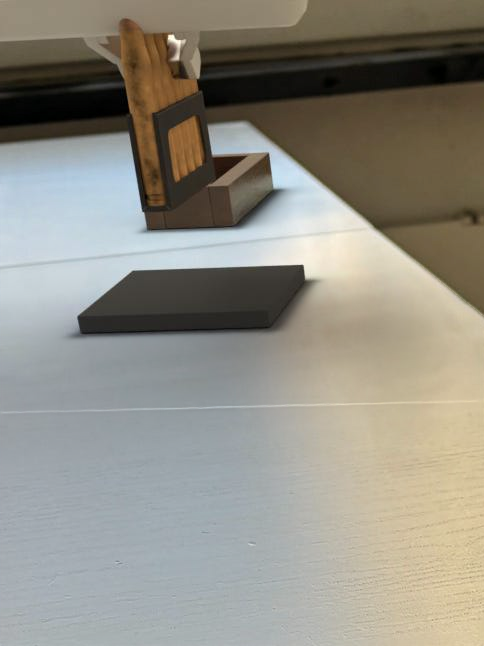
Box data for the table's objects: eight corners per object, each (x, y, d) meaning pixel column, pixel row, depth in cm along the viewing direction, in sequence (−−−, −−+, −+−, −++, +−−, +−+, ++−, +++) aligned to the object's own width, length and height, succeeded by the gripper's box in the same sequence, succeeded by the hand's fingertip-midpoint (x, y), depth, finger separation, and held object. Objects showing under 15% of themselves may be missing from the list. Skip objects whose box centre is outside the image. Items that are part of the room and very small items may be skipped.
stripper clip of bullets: (188, 179, 88) (153, -40, 81) (216, 178, 88) (183, -42, 81) (141, 212, 79) (97, -31, 73) (172, 211, 79) (131, -32, 72)
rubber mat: (80, 333, 84) (76, 316, 83) (135, 285, 93) (132, 270, 93) (269, 327, 83) (267, 310, 82) (305, 279, 92) (303, 264, 92)
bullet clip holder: (147, 229, 109) (139, 189, 107) (195, 192, 122) (190, 155, 120) (234, 226, 109) (228, 185, 107) (273, 189, 121) (269, 152, 120)
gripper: (280, -203, 66) (337, 14, 80) (-115, -175, 68) (6, 32, 82) (274, -90, 65) (333, 110, 79) (-127, -66, 67) (-3, 126, 81)
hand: (163, 71), depth 80 cm, fingers closed on stripper clip of bullets, 2 cm apart
